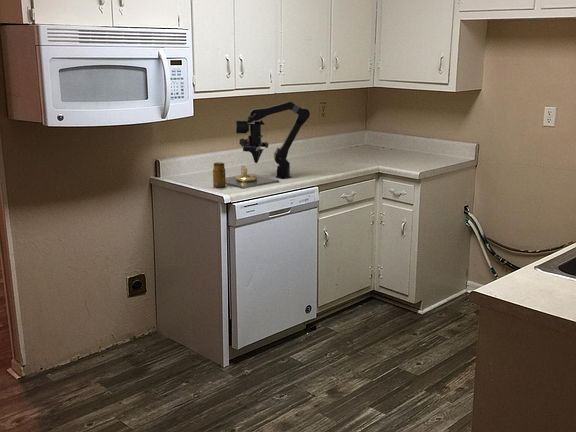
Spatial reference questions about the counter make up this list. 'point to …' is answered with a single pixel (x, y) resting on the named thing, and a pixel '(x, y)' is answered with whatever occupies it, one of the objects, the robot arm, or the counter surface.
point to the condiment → (219, 176)
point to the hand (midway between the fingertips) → (256, 162)
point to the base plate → (249, 182)
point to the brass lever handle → (245, 175)
